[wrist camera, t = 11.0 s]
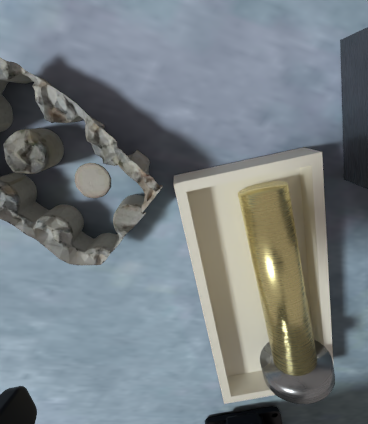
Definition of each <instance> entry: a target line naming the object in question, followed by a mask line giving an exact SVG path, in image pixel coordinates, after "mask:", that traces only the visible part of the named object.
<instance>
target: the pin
mask: <svg viewBox="0 0 368 424" xmlns="http://www.w3.org/2000/svg"><path fill="white" fill-rule="evenodd" d="M238 198H239V202H240V207H241V212H242V216H243V221H244V226H245V230H246V235H247V240H248V244H249V249H250V254H251V258H252V263H253V268H254V272H255V277H256V282H257V286H258V291H259V296H260V300H261V305H262V310H263V315H264V319H265V324H266V329H267V333H268V338H269V342H268V343H267V344H266V345H265V346H264V347H263V349H262V351H261V354H260V364H261V368H262V373H263V377H264V380H265V383H266V385H267V386H268V388H269V389H270V390H271V391H272V392H273V393H274V394H275V395H277V396H278V397H280V398H282V399H284V400H286V401H289V402H292V403H297V404H309V403H314V402H318V401H320V400H322V399H324V398H325V397H326V396H328V395H329V394H330V392H331V391H332V389H333V387H334V384H335V374H334V367H333V361H332V357H331V355H330V353H329V351H328V350H327V349H326V347H325V346H323V345H322V344H321V343H320V342H318V341H316V340H315V339H314V337H313V331H312V325H311V319H310V313H309V307H308V301H307V295H306V289H305V283H304V277H303V271H302V265H301V259H300V253H299V247H298V241H297V235H296V229H295V223H294V217H293V211H292V205H291V199H290V193H289V187H288V183H287V182H284V181H273V182H265V183H260V184H256V185H252V186H249V187H246V188H244V189H242V190H240V191H239V192H238Z"/></svg>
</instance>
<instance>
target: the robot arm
mask: <svg viewBox="0 0 368 424" xmlns="http://www.w3.org/2000/svg"><path fill="white" fill-rule="evenodd" d="M36 415H37V409H36V406H35V404H34V402H33V400H32V398H31V396H30V395H29V393H28V391H27V389H26V388H25V387H23V386H19V387H14V388H9V389H7V390H5V391H4V392H3V393H2V394H1V395H0V424H35V420H36ZM205 424H282V421H281V414H280V411H279V409H278V408H277V407H268V408H262V409H256V410H250V411H244V412H239V413H233V414H227V415H221V416H216V417H210V418H207V419H206V420H205Z"/></svg>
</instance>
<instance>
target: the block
mask: <svg viewBox="0 0 368 424" xmlns="http://www.w3.org/2000/svg"><path fill="white" fill-rule="evenodd" d="M340 43H341V78H342V114H343V149H344V180H346V181H349V182H351V183H354V184H357V185H359V186H362V187H364V188H367V189H368V28H365V29H363V30H361V31H359V32H357V33H355V34H352V35H350V36H348V37H346V38H344V39H342V40H340Z"/></svg>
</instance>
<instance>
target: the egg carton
mask: <svg viewBox="0 0 368 424" xmlns="http://www.w3.org/2000/svg"><path fill="white" fill-rule="evenodd" d="M32 81H33V82H34V84H33V85H32V86H33V88H34V90H35V101H36V103H37V104H38V106H39V108H40V109H41V111H42V113H43V114H44V119H46V120H47V121H49V122H51V123H54V122H58V123H71V122H78V121H81V120H85V123H86V125H85V132H86V139H87V142H90V143H91V144H92V148H93V150H94V152H95V154H96V155H98V156H100V157H101V158H102V159H103V163H104V164H108V165H114V166H115V165H119V166H120V168H121V169H122V170H123V171H124V172H125V173H126V174H127V175H128V176H130V177H131V178H132V179H133V180H135V181H136V182H137V183H138V184H139V185H140V186H141V188H142V189H143V191H144V193H145V196H141V195H136V194H135V195H131V196H128V197H126V198H125V199H124V200H123V201H122V202H121V204H120V205H119V207H118V209H117V210H116V212H115V214H114V218H113V224H114V228H115V230H116V232H117V233H118V234H117V235H116V234H113V233H103V234H101V235H99V236H98V237H97V238H95V239H93V238H91V237H89V236H88V235H86V234H85V233H84V232H82V229H83V226H84V220H83V217H82V215H81V213H80V212H79V211H78V210H77V209H76V208H74V207H73V206H70V205H66V204H61V205H57V206H56V207H54V208H52V209H51V210H48V209H46V208H44V207H43V206H41V205H40V204H38V203H37V202H36V198H37V189H36V186H35V184H34V182H33V181H32V180H31V179H30V178H28V177H27V176H26V175H24V174H22V173H25V174H35V173H38V172H41V171H43V170H46V169H48V168H50V167H53V166H55V165H56V164H58V163H59V162H60V161H61V159H62V157H63V154H64V146H63V143H62V141H61V139H60V138H59V136H58V135H57V134H56V133H54V132H53V131H51V130H49V129H45V128H36V129H24V130H19V131H16V132H15V133H13V134H12V135H11V136H10V137H9V138H8V139H7V140H6V141H5V143H4V144H3V145H4V152H5V160H6V162H7V164H8V165H9V167H10V168H11V170H12V171H13V172H15V173H10V174H7V175H4V176H1V177H0V219H2V220H4V221H7V222H9V223H10V224H12V225H14V226H15V227H17V228H18V229H19V230H21V231H22V232H23V233H25V234H26V235H28V236H30V237H32V238H34V239H36V240H37V241H39V242H40V243H41V244H42V245H44V246H45V247H46V248H47V249H48V250H50V251H51V252H52V253H53V254H54V255H55V256H57V257H58V258H59V259H61V260H63V261H65V262H67V263H69V264H73V265H101V264H102V263H103V262H104V261H105V260H106V259H107V258H108V256H109V255H110V253H111V252H112V251H113V250H114V249H115V248H116V247H117V246H118V245H119V243H120V242H121V241H122V240H123V237H124V236H125V235H126V234H127V233H128V232H129V231H130V230H131V229H133V228H134V226H135V225H136V224H137V223H138V222H139V221H140V220H141V218H142V217H143V216H144V215H145V213H146V212H143V211H144V210H145V209H146V208H147V206H148V205H149V204H150V203H151V201H152V200H153V199H154V198H155V197H156V195H157V194H158V193H159V191H160V190H161V189H162V187H163V186H162V185H160V186H159V184H157V183H156V182H155V180H154V179H153V178H152V177H151V176H150V175H149V165H150V161H149V159H148V158H147V157H146V156H145V155H143V154H142V153H140V152H139V151H138V150H136V152H134V153H133V154H131V155H128V156H127V155H126V154H125V153H124V152H123V151H122V150H121V149H120V148H118V146H117V141H116V140H115V139H114V138H113V137H112V136H110V135H109V134H108V133H107V132H105V131H104V127H105V125H103V124H102V123H100V122H98V121H96V120H95V119H93V118H92V117H90V116H89V115H88V114H87V113H86V112H85V111H84V110H83V109H82V108H80V107H79V106H78V105H77V104H76V103H75V102H74V101H72V100H71V99H70V98H68V97H67V96H66V95H64V94H63V93H61V92H60V91H58V90H57V89H55V88H54V87H52V86H51V85H50V84H49V83H48V82H47V81H45V80H44V79H42V78H39V77H36V76H35V75H33V74H31V73H29V72H27V71H25V70H24V69H23V68H22V67H21V66H20V65H18V64H17V63H14V62H8V61H5V60H3V59H2V58H0V132H2V131H5V130H7V129H8V128H9V127H10V126H11V124H12V122H13V111H12V108H11V105H10V104H9V102H8V101H7V100H6V99H5V98H4V96H3V95H2V92H3V91H4V90H5V87H6V85H7V83H8V82H14V83H23V84H27V83H30V82H32ZM75 184H76V187H77V188H78V189H79V190H80V192H81V193H82V194H83V195H84V196H86V197H89V198H99V197H102V196H104V195H105V194H106V193H107V192H108V191H109V189H110V184H111V178H110V176H109V173H108V172H107V171H106V169H105V168H104V167H102V166H100V165H99V164H96V163H87V164H84V165H82V166H80V167H79V168H78V169H77V171H76V174H75Z"/></svg>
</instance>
